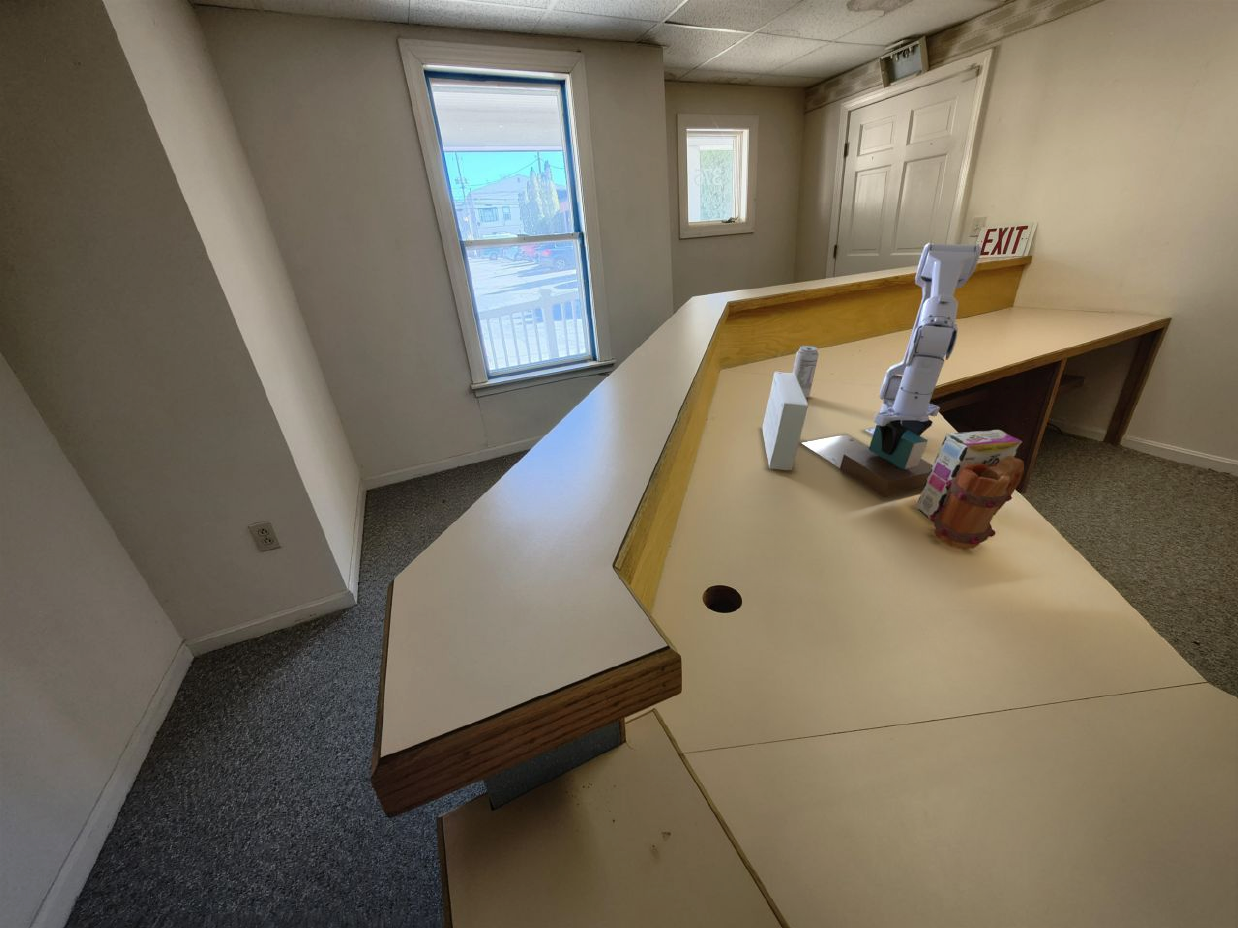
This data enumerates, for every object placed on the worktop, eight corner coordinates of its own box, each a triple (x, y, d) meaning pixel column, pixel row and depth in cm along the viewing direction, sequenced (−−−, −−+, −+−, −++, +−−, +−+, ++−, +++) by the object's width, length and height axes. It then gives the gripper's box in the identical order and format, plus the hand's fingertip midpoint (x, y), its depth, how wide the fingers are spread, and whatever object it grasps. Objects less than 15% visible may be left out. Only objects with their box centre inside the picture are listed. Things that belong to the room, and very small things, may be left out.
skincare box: (794, 472, 100) (809, 405, 92) (768, 469, 101) (781, 403, 93) (783, 430, 118) (795, 371, 110) (761, 429, 119) (771, 370, 111)
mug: (959, 562, 75) (997, 485, 67) (914, 533, 81) (944, 461, 74) (1014, 539, 80) (1055, 465, 72) (967, 513, 86) (1000, 444, 79)
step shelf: (846, 435, 115) (850, 421, 113) (934, 485, 95) (941, 469, 93) (800, 444, 111) (804, 429, 109) (883, 498, 91) (888, 481, 89)
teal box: (882, 446, 100) (890, 421, 97) (919, 466, 92) (929, 440, 89) (868, 449, 98) (876, 424, 95) (904, 469, 91) (913, 443, 88)
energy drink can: (806, 393, 141) (816, 345, 133) (811, 400, 135) (822, 351, 128) (786, 392, 141) (795, 344, 133) (790, 400, 136) (800, 350, 128)
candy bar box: (933, 524, 84) (967, 445, 75) (913, 508, 88) (944, 432, 80) (985, 517, 85) (1024, 440, 77) (963, 502, 90) (998, 427, 81)
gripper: (905, 401, 82) (883, 466, 89) (962, 391, 86) (937, 453, 93) (874, 388, 88) (856, 450, 95) (929, 379, 92) (908, 439, 99)
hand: (894, 451), depth 94 cm, fingers closed on teal box, 4 cm apart
